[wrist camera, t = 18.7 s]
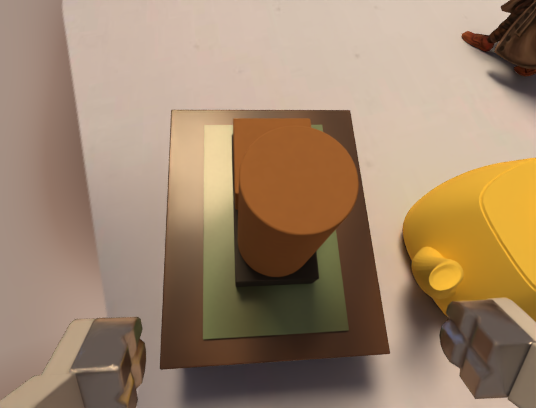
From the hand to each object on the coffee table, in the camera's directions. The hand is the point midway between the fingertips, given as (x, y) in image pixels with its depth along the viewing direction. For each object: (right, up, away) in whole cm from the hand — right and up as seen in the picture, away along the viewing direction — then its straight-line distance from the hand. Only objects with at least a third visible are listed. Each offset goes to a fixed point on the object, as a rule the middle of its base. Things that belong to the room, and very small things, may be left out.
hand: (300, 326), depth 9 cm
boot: (-1, +3, +15) cm, 15 cm away
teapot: (+18, -2, +22) cm, 28 cm away
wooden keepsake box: (-1, 0, +21) cm, 21 cm away
